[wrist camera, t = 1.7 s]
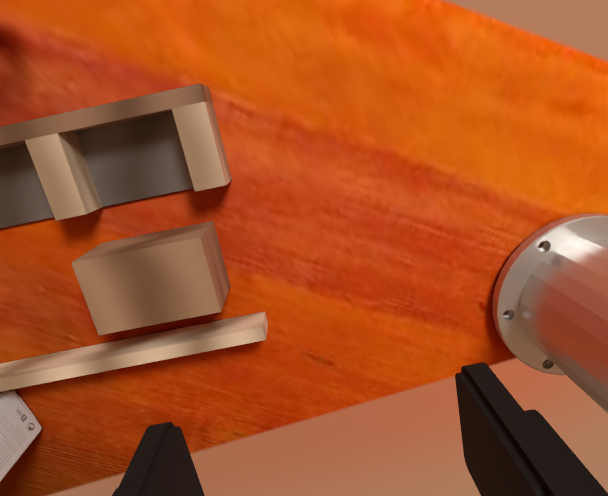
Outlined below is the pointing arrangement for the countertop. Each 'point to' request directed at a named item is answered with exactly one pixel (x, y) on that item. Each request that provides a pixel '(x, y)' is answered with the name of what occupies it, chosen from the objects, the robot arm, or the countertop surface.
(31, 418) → the skincare box
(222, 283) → the block
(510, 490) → the robot arm
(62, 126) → the tray
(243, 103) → the countertop surface
